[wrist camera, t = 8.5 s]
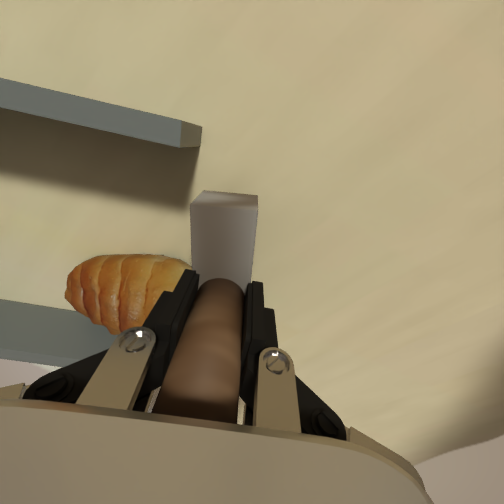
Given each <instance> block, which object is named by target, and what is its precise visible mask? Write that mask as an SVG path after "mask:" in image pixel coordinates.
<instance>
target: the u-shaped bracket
mask: <svg viewBox="0 0 504 504" xmlns="http://www.w3.org/2000/svg"><path fill="white" fill-rule="evenodd" d="M0 107H1V108H6V109H10V110H15V111H19V112H23V113H28V114H32V115H37V116H41V117H46V118H50V119H54V120H59V121H63V122H68V123H72V124H77V125H81V126H86V127H90V128H94V129H99V130H103V131H108V132H112V133H117V134H121V135H126V136H130V137H134V138H139V139H143V140H148V141H152V142H157V143H161V144H165V145H170V146H174V147H179V148H183V147H197V146H200V143H201V133H202V127H201V126H198V125H195V124H191V123H188V122H185V121H182V120H177V119H173V118H169V117H165V116H160V115H156V114H152V113H148V112H143V111H139V110H135V109H131V108H126V107H122V106H118V105H114V104H109V103H105V102H101V101H97V100H92V99H88V98H84V97H80V96H75V95H71V94H67V93H63V92H58V91H54V90H50V89H46V88H41V87H37V86H33V85H29V84H24V83H20V82H16V81H12V80H7V79H3V78H0ZM117 336H118V335H112V334H110V333H109V331H108V329H107V328H106V327H105V326H102V325H97V324H93V323H92V322H91V320H90V318H88V317H86V316H84V315H83V314H81V313H79V312H77V311H71V310H65V309H58V308H52V307H46V306H39V305H33V304H27V303H21V302H14V301H8V300H2V299H0V358H1V359H8V360H15V361H22V362H29V363H37V364H44V365H51V366H58V367H65V366H68V365H70V364H72V363H75V362H77V361H80V360H82V359H85V358H87V357H89V356H92V355H94V354H97V353H99V352H102V351H104V350H106V349H109V348H110V347H111V345H112V344H113V342H114V340H115V339H116V337H117Z"/></svg>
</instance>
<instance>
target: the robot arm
mask: <svg viewBox="0 0 504 504" xmlns="http://www.w3.org/2000/svg"><path fill="white" fill-rule="evenodd" d="M199 276H200V274H196V271H195V270H189V269H185V270H184V272H183V274H182V276H181V278H180V279H179V281H178V283H177V285H176V287H175V289H174V290H173V292H170V291H163V292H162V294H161V295H160V297H159V299H158V300H157V302H156V304H155V305H154V307H153V309H152V310H151V312H150V313H149V315H148V317H147V318H146V320H145V322H144V323H143V325H142V326H141V327H132V328H129V329H126V330H124V331H123V332H121V333H120V334H119V335H118V336H117V337H116V339H115V340H114V342H113V344H112V345H111V347H110V348H109V349H106V350H104V351H102V352H99V353H97V354H94V355H92V356H89V357H87V358H85V359H82V360H80V361H77V362H75V363H72V364H70V365H68V366H65V367H63V368H60V369H58V370H56V371H53V372H51V373H48V374H46V375H44V376H42V377H41V378H39V379H38V380H36V381H35V382H34V383H32V384H31V385H27V386H25V383H21V384H16V385H11V386H6V387H2V388H0V504H434V503H433V501H432V500H431V498H430V497H429V496H428V494H427V493H426V491H425V487H424V484H423V481H422V479H421V477H420V475H419V474H418V472H417V471H416V469H415V468H414V467H413V466H412V465H411V464H410V462H408V461H407V460H406V459H404V458H403V457H402V456H400V455H398V454H397V453H395V452H393V451H392V450H390V449H388V448H387V447H385V446H383V445H381V444H380V443H378V442H376V441H375V440H373V439H371V438H370V437H368V436H366V435H365V434H363V433H361V432H360V431H358V430H356V429H355V428H353V427H350V428H347V427H345V426H344V424H343V422H342V421H341V419H340V418H339V416H338V415H337V414H336V413H335V412H334V411H333V410H332V409H331V408H330V407H329V406H328V405H327V404H325V403H324V402H323V401H322V400H321V399H320V398H319V397H318V396H317V395H316V394H315V393H314V392H313V391H312V390H311V389H310V388H309V387H308V386H306V385H305V384H304V383H303V382H302V381H301V380H300V379H299V378H298V377H297V376H296V375H295V371H294V364H293V360H292V359H291V357H290V356H289V355H288V354H287V353H286V352H285V351H283V350H282V349H279V348H278V341H277V332H276V323H275V314H274V310H273V309H269V308H264V295H263V283H262V282H257V281H252V283H248V286H247V290H246V294H245V301H244V315H243V330H242V344H241V370H240V385H239V396H240V397H241V398H242V400H243V401H244V402H245V405H244V414H243V424H242V425H240V424H232V423H225V422H217V421H209V420H202V419H194V418H186V417H178V416H171V415H163V414H155V413H147V411H148V408H149V405H150V402H151V399H152V397H153V393H154V390H155V389H156V388H158V387H160V386H161V385H162V383H163V380H164V378H165V375H166V373H167V370H168V367H169V365H170V362H171V359H172V357H173V354H174V352H175V349H176V347H177V344H178V341H179V339H180V336H181V334H182V331H183V328H184V326H185V323H186V320H187V318H188V315H189V312H190V310H191V307H192V305H193V302H194V299H195V297H196V294H197V291H198V285H199Z"/></svg>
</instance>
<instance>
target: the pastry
mask: <svg viewBox="0 0 504 504" xmlns="http://www.w3.org/2000/svg"><path fill="white" fill-rule="evenodd" d="M185 269H189V270H192V267H191V266H190V265H188V264H187V263H185V262H184V261H182V260H180V259H175V258H170V257H166V256H164V255H151V254H146V255H143V254H129V255H125V254H123V255H102V256H97V257H94V258H91V259H89V260H87V261H85V262H83V263H81V264H80V265H78V266H76V267H75V268H74V269H73V271H72V272H71V273H70V274H69V275H68V278H67V289H66V291H65V299H66V300H67V301H68V302H69V303H70V304H71V305H72V306H73V307H74V309H75V310H76V311H78V312H79V313H81V314H83V315H84V316H86V317H88V318H90V320H91V322H92V323H93V324H97V325H102V326H105V327H106V328H107V329H108V331H109V333H110V334H112V335H119V334H120V333H121V332H123V331H124V330H126V329H129V328H132V327H141V326H142V325H143V323H144V322H145V320H146V318H147V317H148V315H149V313H150V312H151V310H152V309H153V307H154V305H155V304H156V302H157V300H158V299H159V297H160V295H161V294H162V292H163V291H170V292H173V290H174V289H175V287H176V285H177V283H178V281H179V279H180V278H181V276H182V274H183V272H184V270H185Z"/></svg>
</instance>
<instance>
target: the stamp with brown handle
mask: <svg viewBox="0 0 504 504" xmlns="http://www.w3.org/2000/svg"><path fill="white" fill-rule="evenodd" d="M257 216H258V195H248V194H237V193H227V192H216V191H205V190H204V191H203V192H202V193H201V194H200V195H199V196H198V197H197V198H196V199H195V200H194V201H193V202H192V203H191V204H190V223H191V254H192V270H195V271H196V274H200V276H199V285H198V291H197V294H196V297H195V299H194V302H193V305H192V307H191V310H190V312H189V315H188V318H187V320H186V323H185V326H184V328H183V331H182V334H181V336H180V339H179V341H178V344H177V347H176V349H175V352H174V354H173V357H172V359H171V362H170V365H169V367H168V370H167V373H166V375H165V378H164V380H163V383H162V386H161V388H160V391H159V394H158V396H157V399H156V401H155V404H154V407H153V409H152V412H151V413H155V414H163V415H171V416H178V417H186V418H194V419H202V420H209V421H217V422H225V423H232V424H237V416H238V400H239V385H240V370H241V344H242V330H243V315H244V301H245V294H246V290H247V286H248V283H251V274H252V265H253V255H254V245H255V236H256V226H257Z"/></svg>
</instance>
